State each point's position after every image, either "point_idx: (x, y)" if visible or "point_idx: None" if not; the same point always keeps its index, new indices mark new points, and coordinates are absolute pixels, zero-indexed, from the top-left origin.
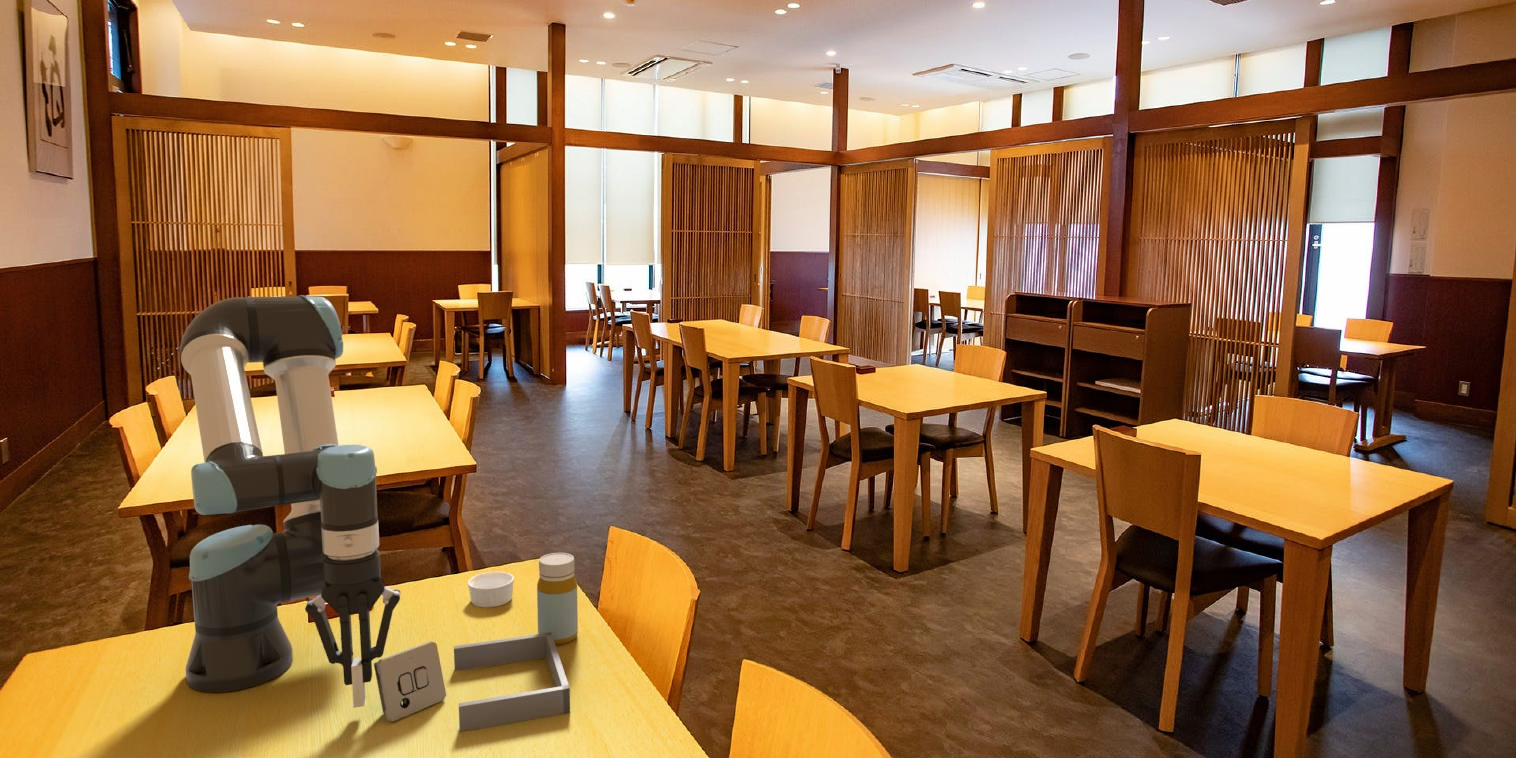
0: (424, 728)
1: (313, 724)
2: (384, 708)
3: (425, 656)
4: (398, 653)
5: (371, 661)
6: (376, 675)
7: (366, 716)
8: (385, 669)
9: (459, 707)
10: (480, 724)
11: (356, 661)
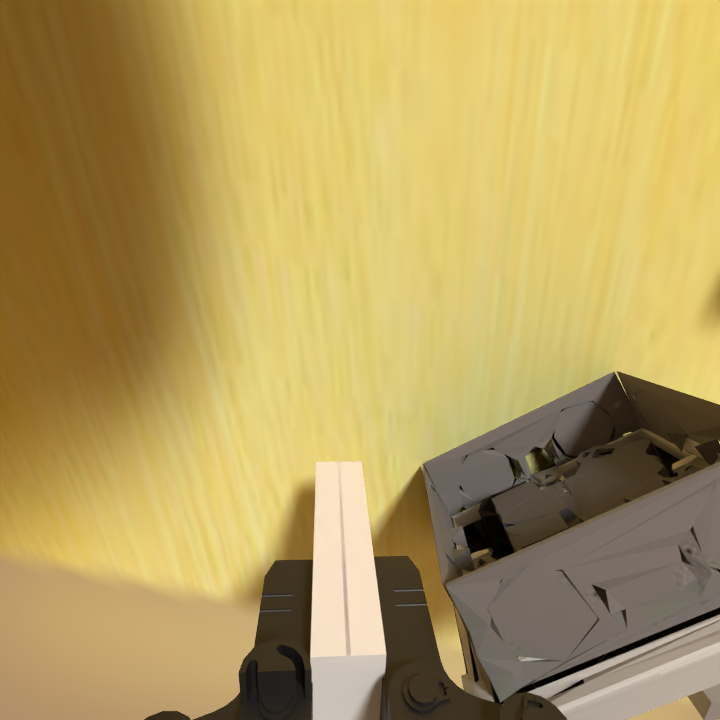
0: None
1: (160, 466)
2: (433, 489)
3: None
4: (636, 695)
5: (437, 652)
6: (438, 548)
7: None
8: None
9: (703, 714)
10: None
11: (340, 699)
